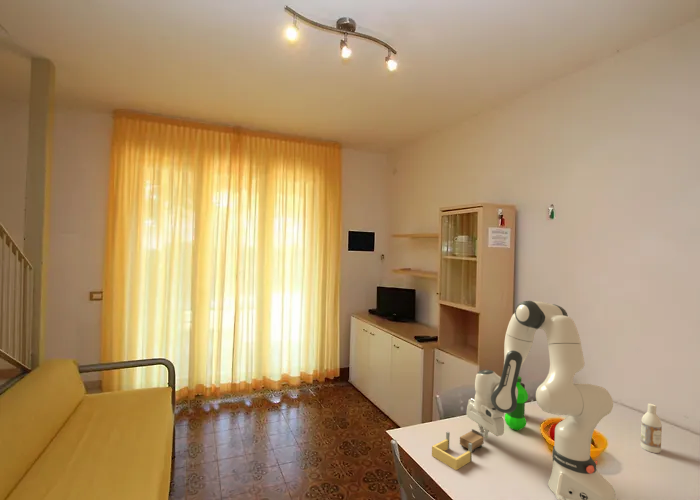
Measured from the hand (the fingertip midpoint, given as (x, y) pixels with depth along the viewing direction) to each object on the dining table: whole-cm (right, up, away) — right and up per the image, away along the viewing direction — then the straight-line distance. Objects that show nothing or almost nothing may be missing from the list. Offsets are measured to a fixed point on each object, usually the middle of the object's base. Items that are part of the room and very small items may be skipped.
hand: (483, 435), depth 162 cm
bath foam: (+73, -4, -4) cm, 74 cm away
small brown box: (-8, -2, -6) cm, 10 cm away
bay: (-19, -2, -15) cm, 24 cm away
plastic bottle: (+20, -3, +12) cm, 24 cm away
